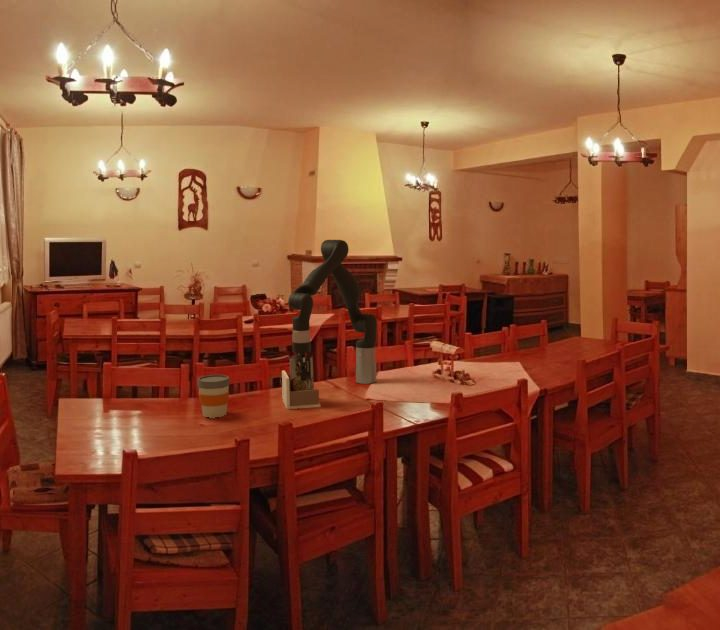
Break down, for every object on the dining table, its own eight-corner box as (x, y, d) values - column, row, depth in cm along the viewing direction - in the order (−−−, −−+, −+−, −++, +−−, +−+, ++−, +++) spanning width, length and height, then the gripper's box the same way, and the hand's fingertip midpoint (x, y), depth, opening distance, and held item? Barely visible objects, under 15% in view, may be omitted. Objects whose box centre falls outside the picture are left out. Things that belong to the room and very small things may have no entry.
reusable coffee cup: (217, 408, 263) (216, 373, 261) (237, 414, 255) (236, 377, 253) (192, 415, 254) (190, 378, 251) (211, 421, 246) (210, 383, 244)
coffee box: (314, 392, 273) (313, 355, 271) (311, 396, 267) (311, 358, 264) (293, 391, 274) (292, 354, 272) (290, 395, 267) (289, 357, 265)
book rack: (314, 397, 279) (313, 368, 278) (320, 406, 265) (320, 376, 263) (282, 399, 276) (281, 370, 274) (286, 409, 262) (286, 378, 260)
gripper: (313, 343, 261) (313, 382, 263) (307, 337, 275) (308, 374, 277) (294, 343, 259) (295, 383, 262) (290, 338, 273) (290, 375, 275)
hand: (301, 378), depth 269 cm, fingers closed on coffee box, 7 cm apart
